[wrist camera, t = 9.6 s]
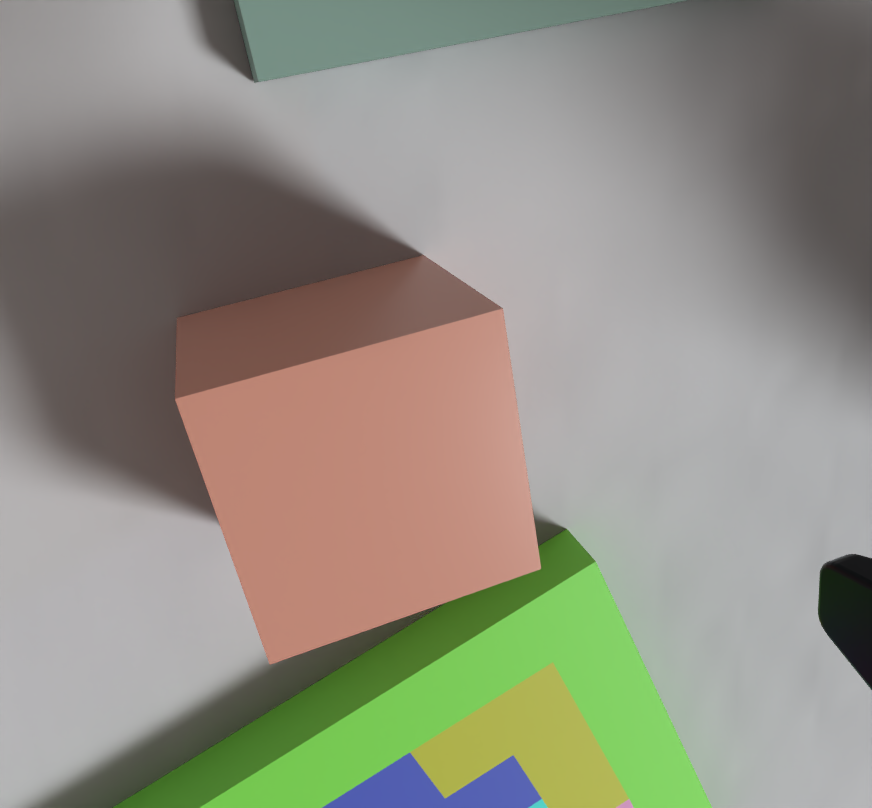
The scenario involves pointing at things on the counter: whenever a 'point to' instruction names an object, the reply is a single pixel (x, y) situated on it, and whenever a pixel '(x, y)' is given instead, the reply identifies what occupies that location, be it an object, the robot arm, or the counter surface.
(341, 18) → the base plate
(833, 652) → the counter surface
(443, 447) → the salmon pink brick
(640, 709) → the green block puzzle board
